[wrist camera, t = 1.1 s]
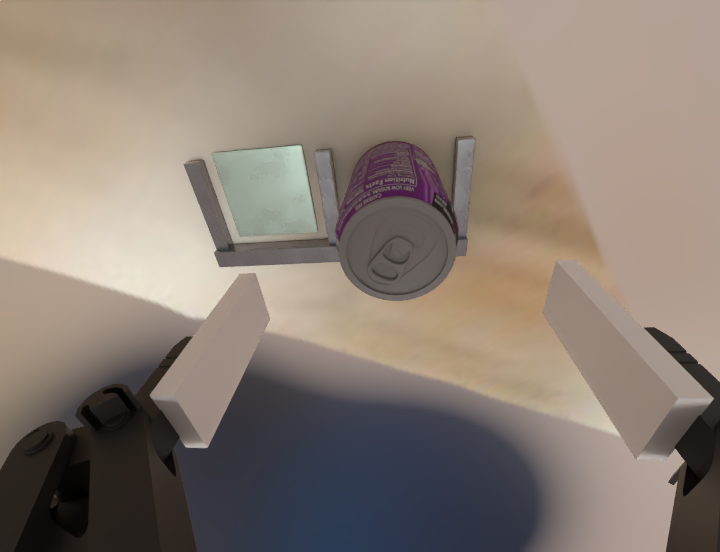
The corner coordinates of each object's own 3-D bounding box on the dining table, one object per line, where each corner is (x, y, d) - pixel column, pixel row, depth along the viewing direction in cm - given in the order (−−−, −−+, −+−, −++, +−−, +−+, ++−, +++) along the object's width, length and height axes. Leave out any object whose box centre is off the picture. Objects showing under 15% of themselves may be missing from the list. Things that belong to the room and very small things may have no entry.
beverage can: (407, 236, 29) (417, 324, 19) (338, 201, 28) (309, 276, 18) (454, 166, 26) (495, 230, 16) (376, 122, 24) (368, 161, 14)
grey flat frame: (187, 154, 27) (177, 159, 25) (472, 128, 24) (477, 132, 23) (226, 258, 32) (219, 267, 31) (462, 247, 29) (466, 255, 28)
